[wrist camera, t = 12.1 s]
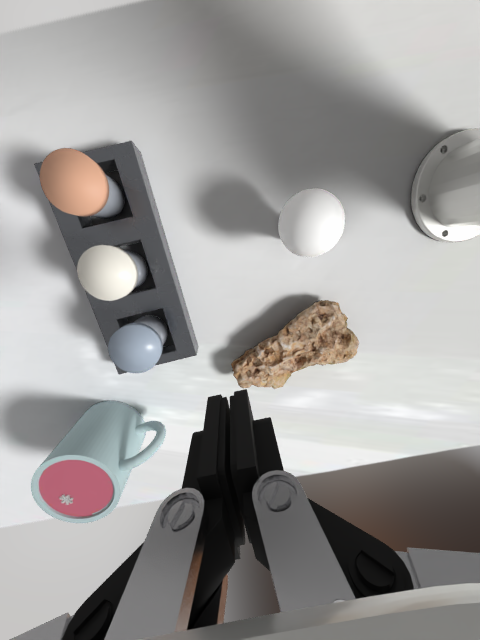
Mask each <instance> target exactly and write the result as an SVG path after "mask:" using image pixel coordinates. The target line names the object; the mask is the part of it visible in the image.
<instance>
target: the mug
mask: <svg viewBox="0 0 480 640" xmlns="http://www.w3.org/2000/svg"><path fill="white" fill-rule="evenodd" d="M150 430H155V431H157V434H156V436H155V438H154V440H153V441H152V442H151V443H150V444H149V445H148V447H147V448H145V449H144V450H143V451H142V452H140V453H139V450H140V448H141V445H142V443H143V440H144V438H145V435H146V431H150ZM165 434H166V430H165V426H164V425H163V424H162V423H161V422H158V421H149V422H146V423H145V422H144V419H143V418H142V416H141V415H140V413H139V412H138V411H137V410H136V409H134V408H133V407H131V406H130V405H128V404H125V403H122V402H118V401H104V402H100V403H97V404H95V405H93V406H91V407H90V408H89V409H88V410H87V411H86V412H85V413H84V414H83V416H82V417H81V418H80V419H79V420H78V422H77V423H76V424H75V425H74V426H73V427H72V429H71V430H70V431H69V432H68V433H67V435H66V436H65V437H64V438H63V439H62V441H61V442H60V443H59V444H58V445H57V446H56V448H55V449H54V450H53V451H52V452H51V454H50V455H49V456H48V457H47V458H46V459H45V461H44V462H43V463H42V464H41V465H40V467H39V468H38V469H37V470H36V472H35V473H34V475H33V478H32V481H31V491H32V495H33V498H34V500H35V501H36V503H37V504H38V506H39V507H40V508H41V509H42V510H43V511H45V512H46V513H47V514H49V515H51V516H52V517H54V518H57V519H59V520H62V521H66V522H72V523H88V522H93V521H96V520H99V519H101V518H103V517H105V516H107V515H108V514H109V513H110V512H112V511H113V509H114V508H115V507H116V506H117V504H118V502H119V499H120V497H121V494H122V492H123V489H124V487H125V484H126V482H127V480H128V477H129V475H130V472H131V470H132V469H133V468H135V467H137V466H139V465H141V464H142V463H144V462H145V461H147V460H148V459H149V458H150V457H151V456H152V455H153V454H154V453H155V452H156V451H157V450H158V449H159V447H160V446H161V444H162V443H163V441H164V438H165Z"/></svg>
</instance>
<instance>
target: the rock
mask: <svg viewBox="0 0 480 640" xmlns="http://www.w3.org/2000/svg"><path fill="white" fill-rule="evenodd" d="M347 319H348V318H347V317H346V316H345V314H342V312H341V310H340V307H339V304H338V303H336V302H331V301H328V300H327V301H326V300H325V301H322V300H321V301H319V302H315V303H314V304H313V305H311V306H310V307H309V308H307V309H305V310H303V311H302V312H300V313H299V314H297V316H296V317H295V318H294V319H293V320H291V321H290V322H289V323H288V324H286V326H285V327H284V328H283V329H282V330H280V331H279V333H278V335H277V336H273V337H271V338H267V339H266V340H264V341H262V342H260V343H259V344H258V345H257V346H255V347H254V349H249V350H247V351H245V353H244V355H242V356H240V358H238V359H236V360H234V361H233V362H232V364H231V366H232V368H233V371H234V374H233V375H234V377H235V378H236V379H237V381H238V385H239V386H240V387H242V388H249V387H250V386H251V385H252V384H253V385H254V386H257V387H273V388H274V389H276V388H279V387H283V385H284V384H285V382H286V381H287V379H288V378H289V377H290V376H291V373H293V372H295V371H298V370H301V369H303V368H306V367H308V366H313V365H315V364H319V365H326V364H337V363H343V362H347V361H348V360H349V359H351V358H353V357H354V356H355V355H356V353H357V348H358V345H359V342H358V339H357V337H356V336H355V334H354V333H353V332H352V331H351V330H350V329H348V328H347V322H346V321H347Z"/></svg>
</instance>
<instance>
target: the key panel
mask: <svg viewBox="0 0 480 640" xmlns="http://www.w3.org/2000/svg"><path fill="white" fill-rule="evenodd" d="M82 153H84V154H85V155H87V156H88V157H89V158H91V159H92V160H93V161H95V162H96V163H97V164H98V165H99V166H100V167H101V168H102V170H103V171H104V173H108V172H112V171H116V170H118V172H119V175H120V178H121V181H122V184H123V187H124V190H125V193H126V196H127V199H128V202H129V205H130V209H131V212H132V215H133V217H129V218H125V219H120V220H116V221H112V222H108V223H104V224H99V225H95V226H93V223H92V220H91V218H90V216H87V217H82V216H76V215H72V214H68V213H66V212H63V211H61V210H60V209H58V208H56V207H55V206H54V205H53V204H52V203H51V202H50V201H49V202H50V204H51V207H52V209H53V212H54V214H55V217H56V219H57V222H58V224H59V227H60V229H61V232H62V234H63V237H64V239H65V242H66V244H67V247H68V249H69V252H70V254H71V257H72V259H73V262H74V264H75V267H76V269H77V265H78V261H79V259H80V257H81V255H82V254H83V253H84V252H85V251H86V250H88V249H89V248H91V247H94V246H98V245H109V246H115V247H118V248H119V247H123V246H127V245H131V244H135V243H139V242H141V243H142V246H143V249H144V252H145V255H146V258H147V261H148V264H149V267H150V270H151V273H152V276H153V280H154V283H155V286H156V287H153V288H149V289H145V290H141V291H136V292H132V293H130V294H128V295H127V296H124V297H122V298H120V299H117V300H113V301H106V300H101V299H98V298H96V297H94V296H92V295H91V294H89V293H88V292H87V291H86V290H85V292H86V294H87V297H88V299H89V301H90V304H91V306H92V309H93V311H94V314H95V316H96V319H97V321H98V324H99V326H100V329H101V331H102V334H103V336H104V339H105V341H106V344H107V346H108V344H109V340H110V338H111V337H112V335H113V334H114V333H115V332H116V331H117V330H119V329H120V328H121V327H123V326H124V325H127V324H129V321H128V318H127V317H128V316H132V315H136V314H141V313H145V312H149V311H153V310H157V309H161V308H163V310H164V314H165V317H166V320H167V323H168V326H169V329H170V332H171V335H172V338H173V341H174V344H172V345H168V346H164V347H163V350H162V354H161V356H160V358H159V360H158V362H157V363H156V364H155V365H159V364H163V363H167V362H171V361H175V360H179V359H183V358H187V357H191V356H195V355H197V350H198V344H197V340H196V337H195V334H194V330H193V327H192V324H191V320H190V317H189V314H188V310H187V307H186V303H185V300H184V297H183V293H182V290H181V287H180V283H179V280H178V277H177V273H176V270H175V266H174V263H173V260H172V256H171V253H170V250H169V246H168V243H167V240H166V236H165V233H164V229H163V226H162V223H161V219H160V216H159V213H158V209H157V206H156V203H155V199H154V196H153V192H152V189H151V186H150V182H149V179H148V176H147V172H146V169H145V166H144V162H143V159H142V155H141V152H140V151H139V150H138V148H137V147H136V146H135V145H134V143H133V142H132V141H129V142H125V143H120V144H116V145H112V146H108V147H103V148H99V149H95V150H91V151H86V152H82ZM42 163H43V162H40V163H35V164H34V165H35V167H36V170H37V172H38V174H39V177H40V169H41V166H42ZM115 366H116V365H115ZM116 369H117V371H118V374H122V373H126V372H127V371H124V370H122V369H120V368H119V367H118V366H116Z"/></svg>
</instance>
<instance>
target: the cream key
mask: <svg viewBox="0 0 480 640" xmlns="http://www.w3.org/2000/svg"><path fill="white" fill-rule="evenodd" d="M77 274H78V278H79V281H80V283H81V285H82V286H83V288H84V289H85V290H86V291H87V292H88V293H89V294H91V295H92V296H94V297H96V298H98V299H101V300H106V301H113V300H117V299H120V298H122V297H124V296H127V295H128V294H130V293H131V292H132V291H133V289H134V288H136V287H138V286H140V285H141V284H143V283H144V281H145V280H146V278H147V274H148V268H147V264H146V262H145V260H144V259H143V258H142V257H141V256H140V255H139V254H138V253H136V252H133V251H130V250H122V249H120V248H118V247H115V246H109V245H98V246H94V247H91V248H89V249H88V250H86V251H85V252H84V253H83V254H82V255H81V257H80V259H79V261H78V265H77Z"/></svg>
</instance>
